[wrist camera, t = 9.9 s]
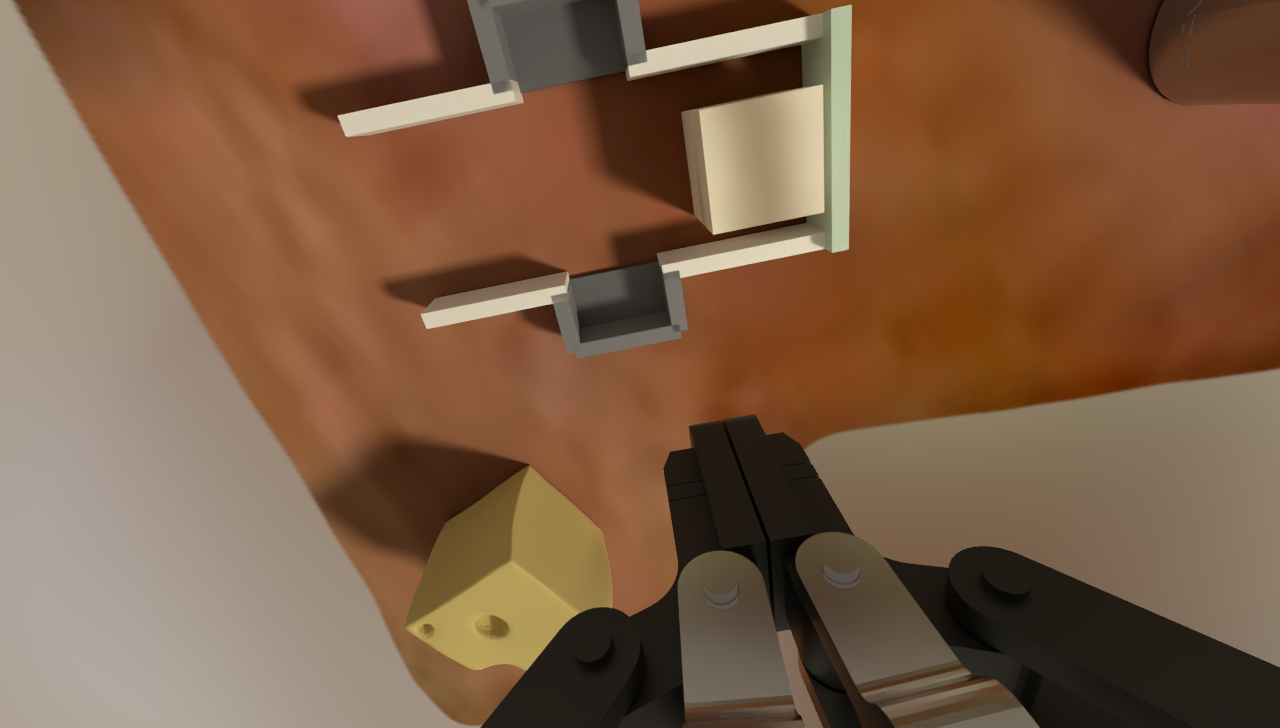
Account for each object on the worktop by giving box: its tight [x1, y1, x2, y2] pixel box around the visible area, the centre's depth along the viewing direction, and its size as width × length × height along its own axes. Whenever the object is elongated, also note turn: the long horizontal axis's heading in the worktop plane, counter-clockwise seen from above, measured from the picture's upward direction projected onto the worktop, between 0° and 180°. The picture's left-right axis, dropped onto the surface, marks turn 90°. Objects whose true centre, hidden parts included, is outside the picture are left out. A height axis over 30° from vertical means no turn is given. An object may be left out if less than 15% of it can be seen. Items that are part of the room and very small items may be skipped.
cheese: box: [405, 466, 612, 671], centre depth 38 cm, size 10×11×10 cm
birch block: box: [681, 85, 824, 235], centre depth 27 cm, size 6×6×6 cm
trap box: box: [338, 0, 852, 359], centre depth 28 cm, size 26×20×4 cm
